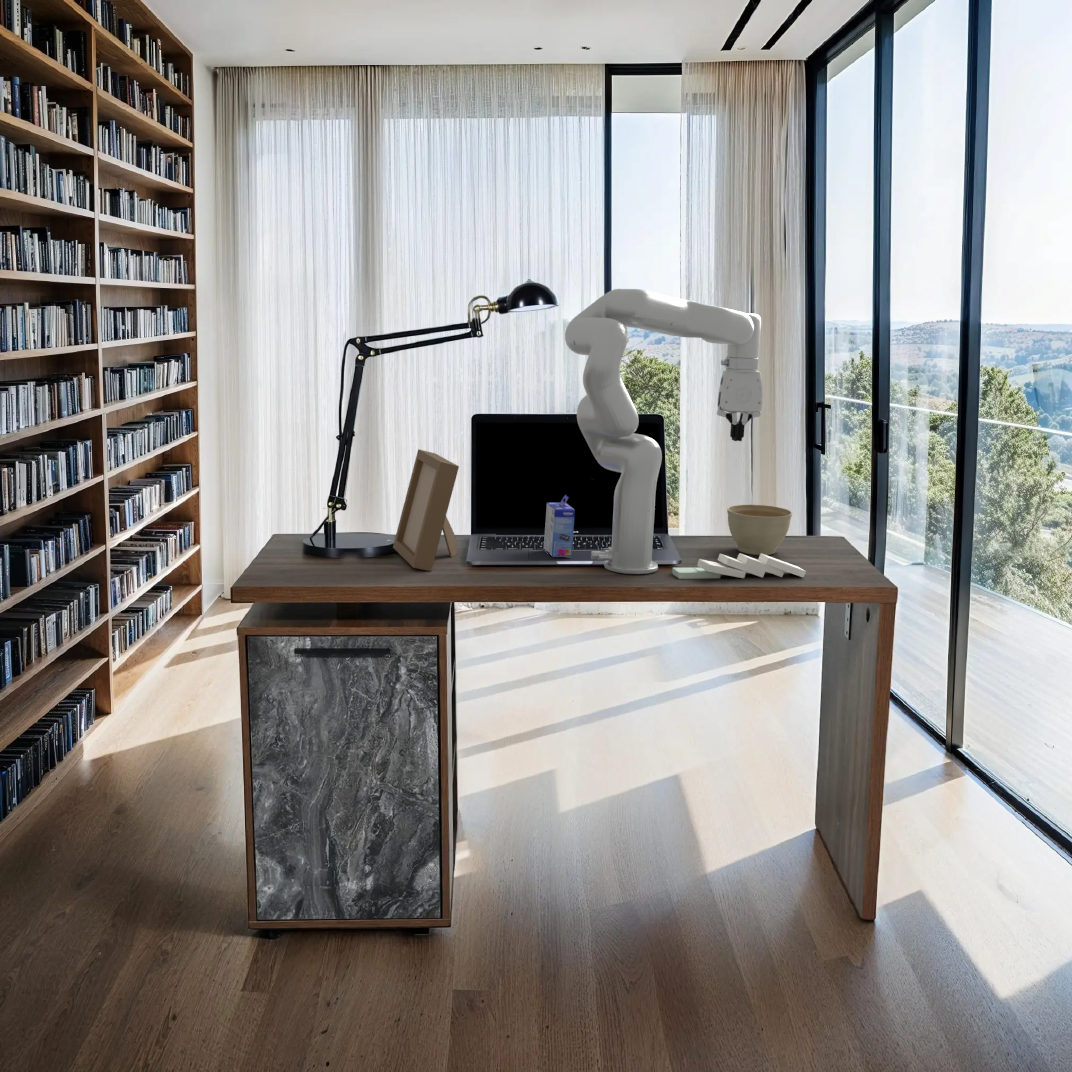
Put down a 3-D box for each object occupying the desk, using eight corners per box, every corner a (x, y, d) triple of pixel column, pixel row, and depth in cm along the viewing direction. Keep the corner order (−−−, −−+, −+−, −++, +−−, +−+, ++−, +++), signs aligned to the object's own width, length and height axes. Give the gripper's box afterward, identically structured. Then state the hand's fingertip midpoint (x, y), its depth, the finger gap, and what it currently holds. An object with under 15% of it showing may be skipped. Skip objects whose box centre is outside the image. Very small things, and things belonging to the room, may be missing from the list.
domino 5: (803, 577, 265) (766, 564, 262) (794, 572, 270) (758, 559, 267) (806, 571, 265) (768, 557, 262) (797, 566, 270) (760, 553, 267)
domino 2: (744, 578, 262) (708, 571, 258) (732, 572, 266) (697, 565, 262) (746, 571, 262) (710, 564, 258) (734, 565, 266) (699, 558, 262)
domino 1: (713, 567, 266) (672, 567, 264) (720, 572, 261) (679, 572, 260) (712, 574, 267) (672, 574, 265) (720, 579, 262) (678, 579, 260)
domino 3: (762, 577, 263) (726, 564, 260) (753, 572, 268) (717, 559, 265) (765, 571, 263) (728, 558, 260) (755, 566, 268) (719, 553, 265)
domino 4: (782, 577, 265) (745, 564, 262) (772, 572, 269) (736, 559, 266) (784, 570, 264) (748, 557, 261) (775, 565, 269) (739, 553, 266)
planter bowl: (712, 546, 295) (715, 505, 293) (764, 543, 302) (768, 503, 299) (747, 560, 281) (750, 517, 279) (801, 556, 287) (804, 514, 285)
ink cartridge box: (573, 558, 276) (576, 499, 273) (551, 558, 275) (553, 499, 272) (564, 549, 285) (567, 492, 282) (543, 549, 284) (545, 492, 281)
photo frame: (413, 571, 257) (416, 461, 252) (392, 551, 277) (395, 449, 272) (476, 569, 261) (480, 462, 257) (451, 549, 282) (455, 449, 277)
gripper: (716, 365, 271) (711, 441, 274) (776, 367, 273) (771, 443, 276) (707, 363, 278) (702, 438, 282) (766, 365, 280) (761, 439, 284)
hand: (736, 440), depth 279 cm, fingers closed
